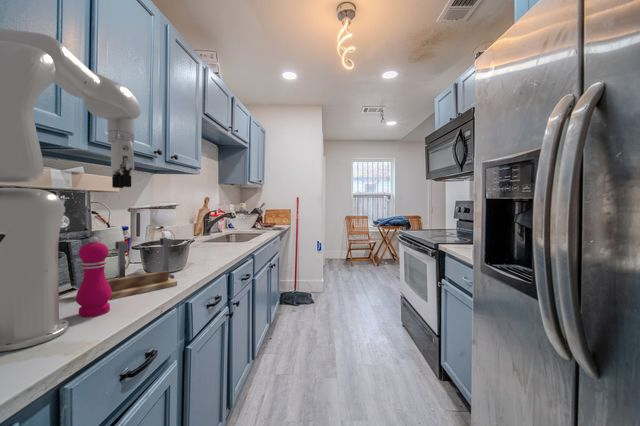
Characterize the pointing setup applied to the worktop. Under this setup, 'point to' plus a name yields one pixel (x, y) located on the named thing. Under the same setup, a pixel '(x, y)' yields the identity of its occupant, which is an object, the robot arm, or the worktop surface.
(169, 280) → the oak board
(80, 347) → the worktop surface
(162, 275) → the walnut rail
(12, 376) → the worktop surface
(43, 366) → the worktop surface
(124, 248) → the hook stands
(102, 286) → the pepper mill
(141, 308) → the worktop surface
